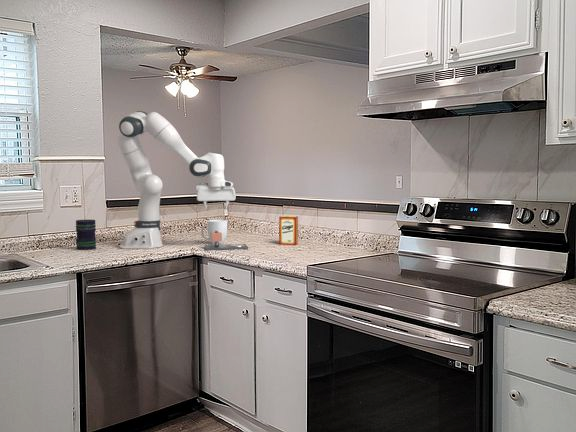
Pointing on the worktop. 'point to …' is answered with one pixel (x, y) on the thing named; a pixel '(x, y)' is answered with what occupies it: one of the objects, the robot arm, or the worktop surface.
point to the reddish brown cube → (216, 236)
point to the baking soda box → (288, 230)
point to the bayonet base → (225, 246)
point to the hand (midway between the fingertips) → (216, 209)
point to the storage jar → (85, 234)
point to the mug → (216, 229)
